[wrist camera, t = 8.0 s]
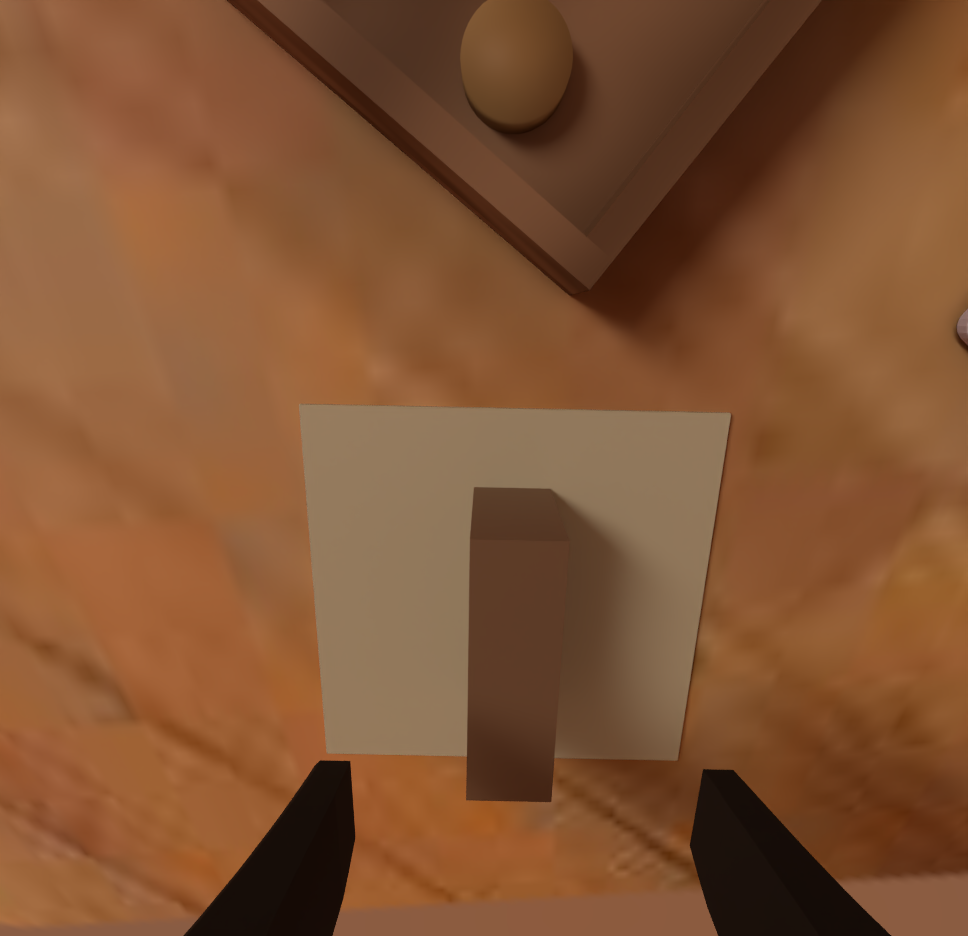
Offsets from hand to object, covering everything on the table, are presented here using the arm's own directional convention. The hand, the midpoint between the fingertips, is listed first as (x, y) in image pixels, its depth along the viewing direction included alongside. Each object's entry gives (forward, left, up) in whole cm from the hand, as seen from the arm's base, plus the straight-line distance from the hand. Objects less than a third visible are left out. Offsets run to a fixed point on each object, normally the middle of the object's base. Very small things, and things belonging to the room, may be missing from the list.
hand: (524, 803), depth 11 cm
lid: (0, 0, -8) cm, 8 cm away
